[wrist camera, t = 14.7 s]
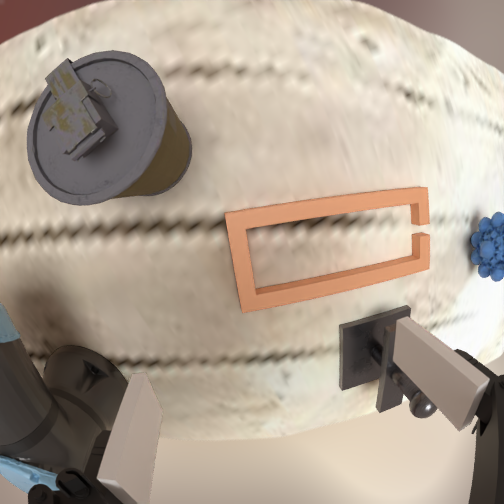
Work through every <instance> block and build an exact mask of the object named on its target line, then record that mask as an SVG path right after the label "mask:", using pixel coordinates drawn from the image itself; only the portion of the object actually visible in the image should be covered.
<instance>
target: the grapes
mask: <svg viewBox="0 0 504 504" xmlns="http://www.w3.org/2000/svg"><path fill="white" fill-rule="evenodd" d="M479 231H480V232H475V233H474V234H473V235H472V237H471V244H472V246H473V247H474V248H476V249H475V250H474V251H473V252H472V254H471V261H472V262H473V264H475V265H479V264H480V265H479V267H478V273H479V275H480V276H481V277H482V278H486V277H488V276H489V275H490V276H491V278H492V280H493V281H495V282H496V281H500V280H501V279H503V277H504V214H503V213H501V212H496V213H495V214H494V215H493V216H492V218H491V219H490V218H488V217H484V218H483V219H481V221H480V222H479Z"/></svg>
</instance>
